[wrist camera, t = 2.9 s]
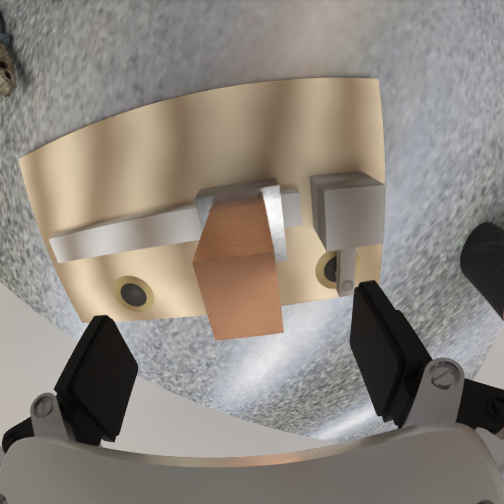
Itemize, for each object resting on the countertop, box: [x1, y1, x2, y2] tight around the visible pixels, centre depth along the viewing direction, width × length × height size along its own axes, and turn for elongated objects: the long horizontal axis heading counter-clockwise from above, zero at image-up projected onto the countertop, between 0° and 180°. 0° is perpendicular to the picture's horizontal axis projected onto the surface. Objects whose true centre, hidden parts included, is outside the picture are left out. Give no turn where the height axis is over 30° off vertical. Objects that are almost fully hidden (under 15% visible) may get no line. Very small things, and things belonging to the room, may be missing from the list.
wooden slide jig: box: [19, 78, 385, 323], centre depth 19 cm, size 30×18×6 cm, turn 98°
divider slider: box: [192, 178, 287, 340], centre depth 16 cm, size 5×10×10 cm, turn 8°
